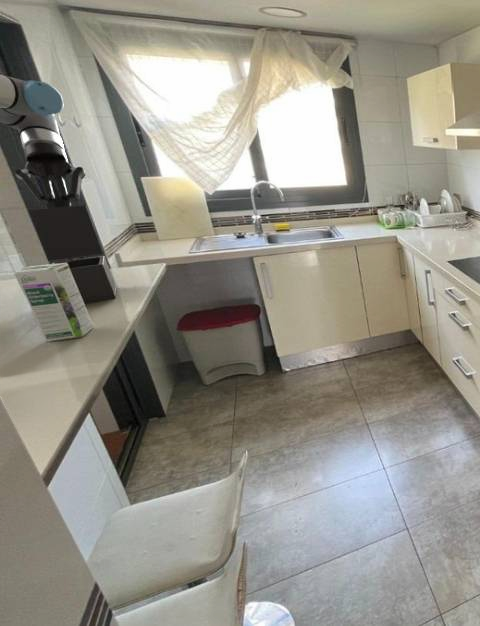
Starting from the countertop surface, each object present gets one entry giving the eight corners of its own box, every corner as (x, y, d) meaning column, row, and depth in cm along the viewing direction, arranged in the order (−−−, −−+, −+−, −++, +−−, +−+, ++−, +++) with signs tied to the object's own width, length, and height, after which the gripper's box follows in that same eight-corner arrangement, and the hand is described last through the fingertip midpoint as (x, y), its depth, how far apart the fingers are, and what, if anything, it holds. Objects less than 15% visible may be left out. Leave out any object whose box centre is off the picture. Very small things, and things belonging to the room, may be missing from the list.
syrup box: (45, 342, 90) (11, 272, 85) (60, 332, 95) (29, 264, 90) (82, 337, 92) (52, 268, 87) (95, 327, 97) (67, 261, 92)
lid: (85, 205, 116) (86, 205, 117) (28, 209, 110) (29, 210, 111) (103, 253, 119) (103, 253, 120) (48, 261, 113) (48, 261, 114)
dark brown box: (115, 298, 115) (102, 264, 111) (59, 308, 108) (43, 272, 105) (116, 287, 123) (104, 255, 120) (63, 296, 117) (49, 263, 113)
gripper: (83, 160, 128) (103, 227, 123) (15, 162, 120) (33, 234, 115) (74, 139, 123) (95, 209, 117) (1, 141, 115) (20, 215, 109)
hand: (64, 221), depth 116 cm, fingers closed
